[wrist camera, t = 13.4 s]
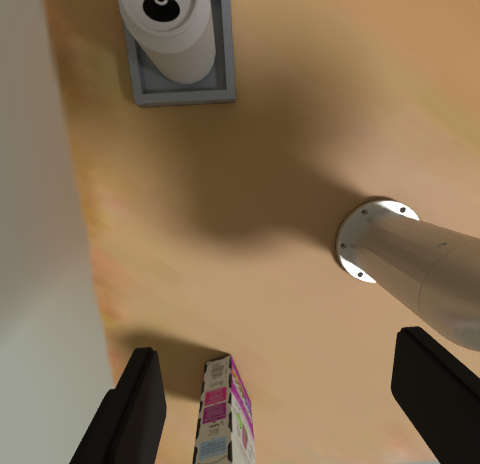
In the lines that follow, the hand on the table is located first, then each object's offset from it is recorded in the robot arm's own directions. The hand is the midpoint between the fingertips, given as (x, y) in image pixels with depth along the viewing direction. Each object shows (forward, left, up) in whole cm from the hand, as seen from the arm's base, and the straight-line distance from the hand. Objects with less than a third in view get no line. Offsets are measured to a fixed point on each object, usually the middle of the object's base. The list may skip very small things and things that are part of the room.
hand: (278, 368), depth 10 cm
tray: (+6, -21, -28) cm, 36 cm away
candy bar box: (+4, +29, -28) cm, 41 cm away
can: (+6, -21, -28) cm, 35 cm away
